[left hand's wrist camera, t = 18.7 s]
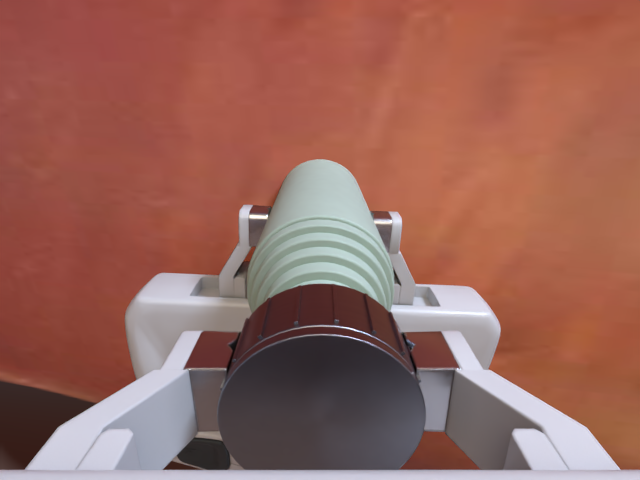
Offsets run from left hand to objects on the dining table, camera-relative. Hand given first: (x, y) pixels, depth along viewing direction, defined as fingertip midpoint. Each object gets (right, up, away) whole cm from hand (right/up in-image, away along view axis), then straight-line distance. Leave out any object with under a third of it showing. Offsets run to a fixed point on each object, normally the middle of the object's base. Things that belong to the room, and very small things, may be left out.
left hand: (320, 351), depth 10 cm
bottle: (0, +6, +15) cm, 16 cm away
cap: (0, -1, -2) cm, 2 cm away
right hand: (0, +4, +10) cm, 11 cm away
